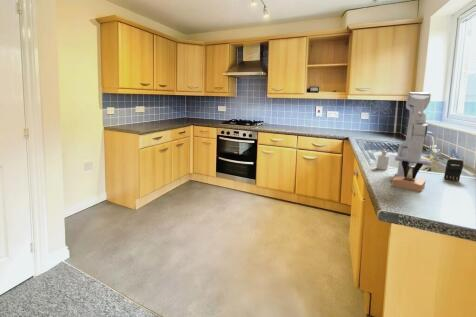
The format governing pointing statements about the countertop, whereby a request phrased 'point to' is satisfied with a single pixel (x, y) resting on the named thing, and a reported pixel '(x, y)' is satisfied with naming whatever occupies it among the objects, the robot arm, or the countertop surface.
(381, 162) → the eye dropper bottle
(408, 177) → the steel peg
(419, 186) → the hole block
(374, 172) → the countertop surface
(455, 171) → the battery charger
